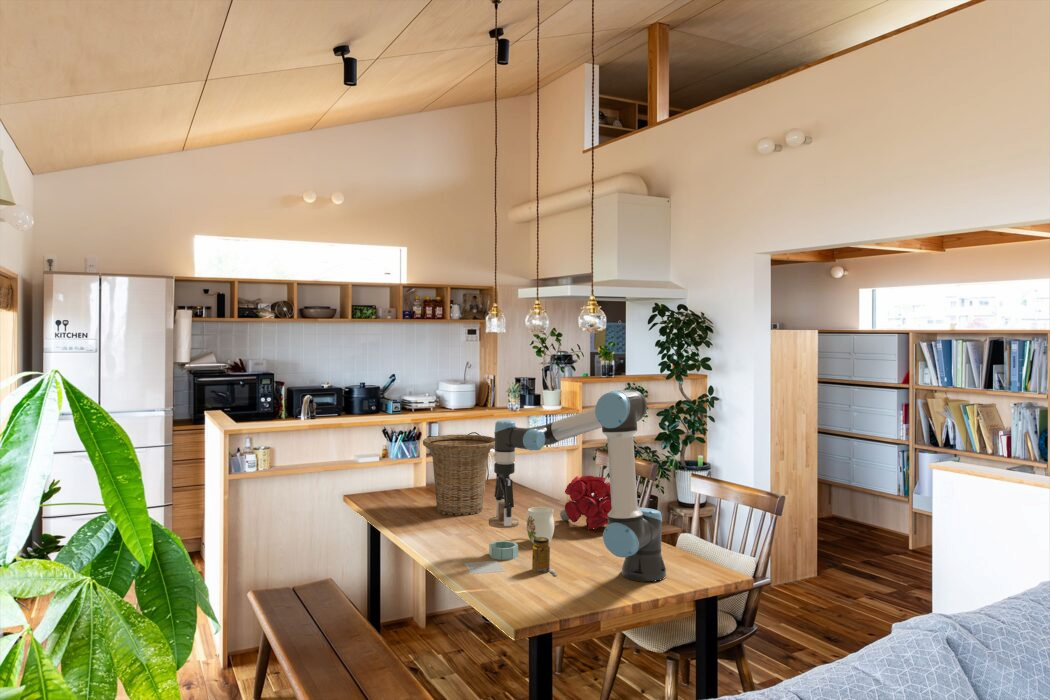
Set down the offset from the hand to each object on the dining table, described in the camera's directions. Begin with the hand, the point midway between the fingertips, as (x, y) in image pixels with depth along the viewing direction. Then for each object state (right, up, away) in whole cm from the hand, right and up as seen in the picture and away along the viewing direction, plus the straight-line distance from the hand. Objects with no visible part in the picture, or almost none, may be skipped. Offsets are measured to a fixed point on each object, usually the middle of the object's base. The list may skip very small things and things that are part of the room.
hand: (503, 521), depth 270 cm
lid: (0, -1, 0) cm, 1 cm away
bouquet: (+35, -13, +45) cm, 59 cm away
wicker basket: (-23, -12, +72) cm, 76 cm away
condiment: (+14, -14, -16) cm, 26 cm away
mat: (-6, -14, -13) cm, 20 cm away
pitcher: (+14, -13, +21) cm, 28 cm away
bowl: (0, -14, 0) cm, 14 cm away
